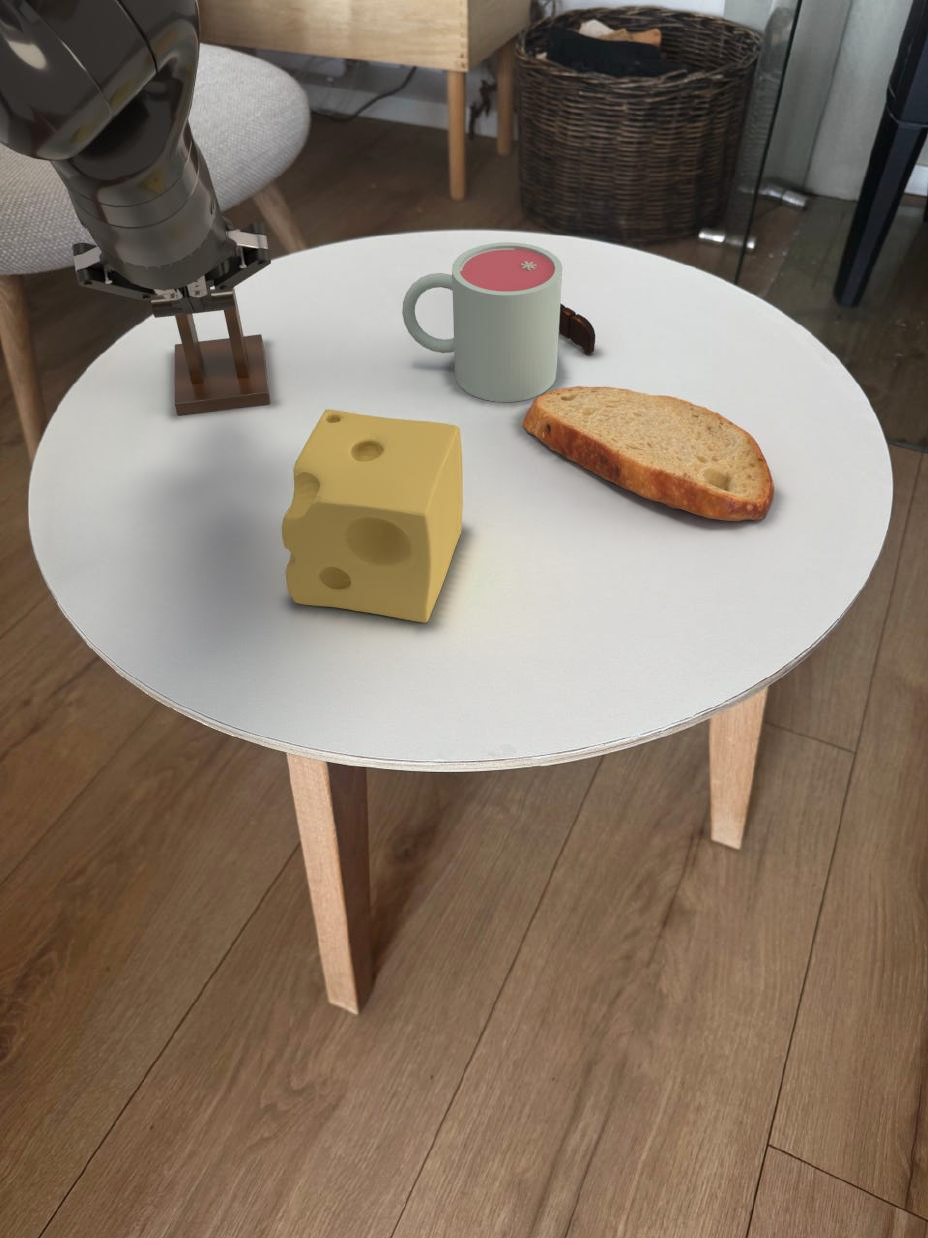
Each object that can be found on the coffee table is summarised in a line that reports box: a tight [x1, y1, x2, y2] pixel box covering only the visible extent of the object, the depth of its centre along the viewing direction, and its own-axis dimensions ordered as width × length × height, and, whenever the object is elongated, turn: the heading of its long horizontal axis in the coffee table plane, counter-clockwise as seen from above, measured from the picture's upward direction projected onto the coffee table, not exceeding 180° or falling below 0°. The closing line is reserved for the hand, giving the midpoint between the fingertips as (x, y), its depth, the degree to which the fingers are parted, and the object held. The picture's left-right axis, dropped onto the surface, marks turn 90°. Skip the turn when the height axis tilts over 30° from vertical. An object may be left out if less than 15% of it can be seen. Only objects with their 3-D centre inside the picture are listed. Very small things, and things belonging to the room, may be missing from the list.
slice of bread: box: [522, 385, 775, 522], centre depth 79 cm, size 18×18×4 cm
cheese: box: [281, 408, 464, 624], centre depth 68 cm, size 10×11×10 cm
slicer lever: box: [150, 288, 236, 319], centre depth 78 cm, size 12×6×2 cm, turn 11°
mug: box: [401, 241, 563, 403], centre depth 86 cm, size 14×9×10 cm
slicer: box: [174, 287, 271, 416], centre depth 85 cm, size 10×8×13 cm
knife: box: [559, 302, 596, 356], centre depth 95 cm, size 17×1×3 cm, turn 36°
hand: (192, 298), depth 73 cm, fingers closed
